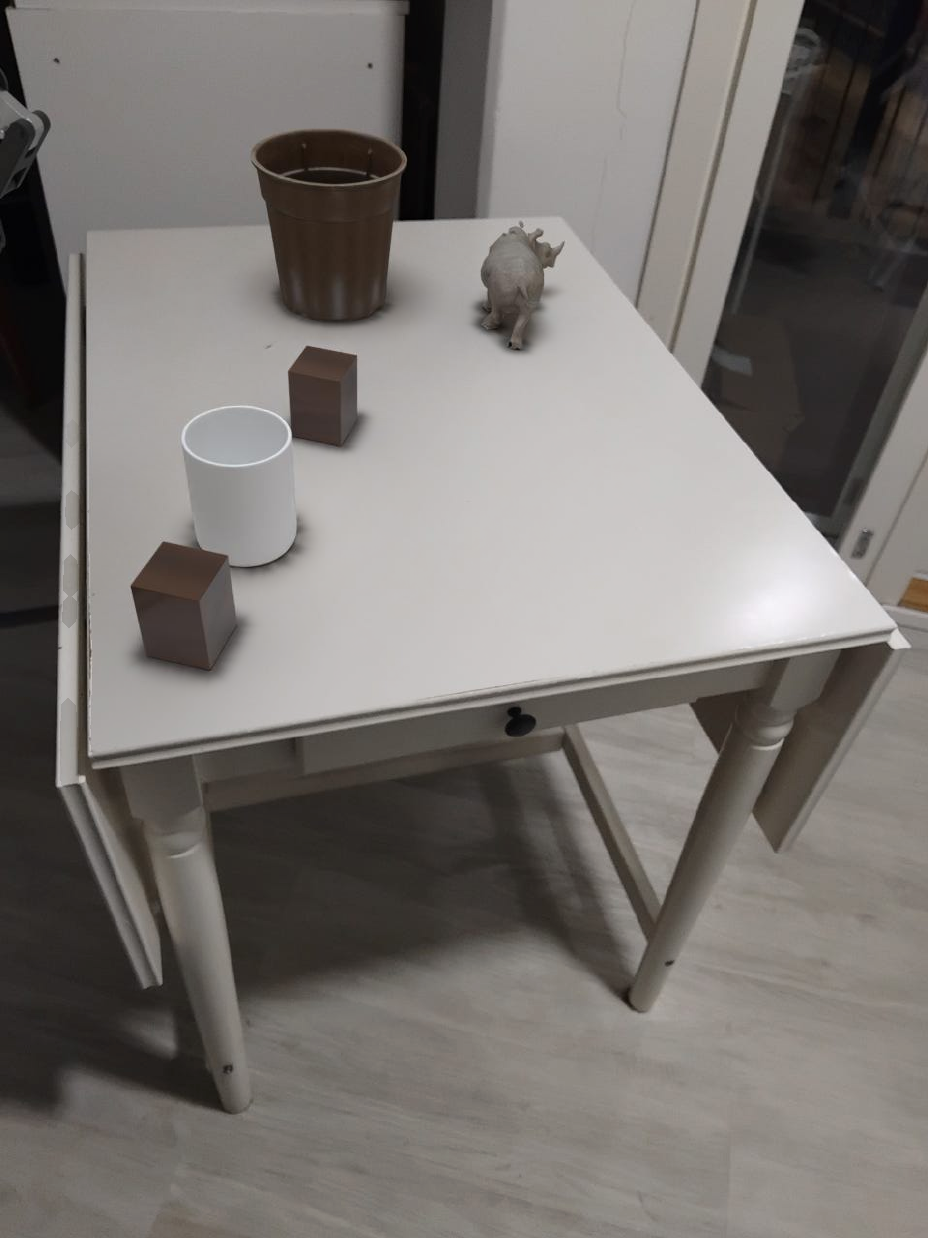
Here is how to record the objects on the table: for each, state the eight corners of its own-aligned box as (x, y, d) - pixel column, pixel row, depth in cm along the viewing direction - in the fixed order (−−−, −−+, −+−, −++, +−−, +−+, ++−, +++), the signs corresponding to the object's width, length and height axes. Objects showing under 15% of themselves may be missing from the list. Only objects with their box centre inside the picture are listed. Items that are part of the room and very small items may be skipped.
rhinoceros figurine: (454, 327, 103) (495, 187, 100) (467, 346, 116) (504, 222, 114) (522, 348, 102) (565, 207, 100) (528, 364, 116) (566, 240, 113)
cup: (188, 567, 76) (171, 463, 69) (212, 478, 85) (199, 377, 78) (291, 571, 77) (285, 469, 70) (306, 482, 85) (301, 383, 78)
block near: (210, 670, 69) (198, 601, 64) (145, 655, 69) (129, 585, 64) (237, 624, 72) (228, 555, 67) (175, 610, 73) (162, 540, 68)
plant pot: (284, 341, 103) (275, 189, 92) (245, 276, 113) (232, 132, 102) (422, 322, 108) (430, 176, 97) (373, 262, 119) (375, 123, 107)
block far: (341, 446, 90) (340, 381, 85) (291, 436, 90) (287, 370, 85) (357, 418, 93) (357, 354, 88) (309, 409, 94) (306, 345, 89)
